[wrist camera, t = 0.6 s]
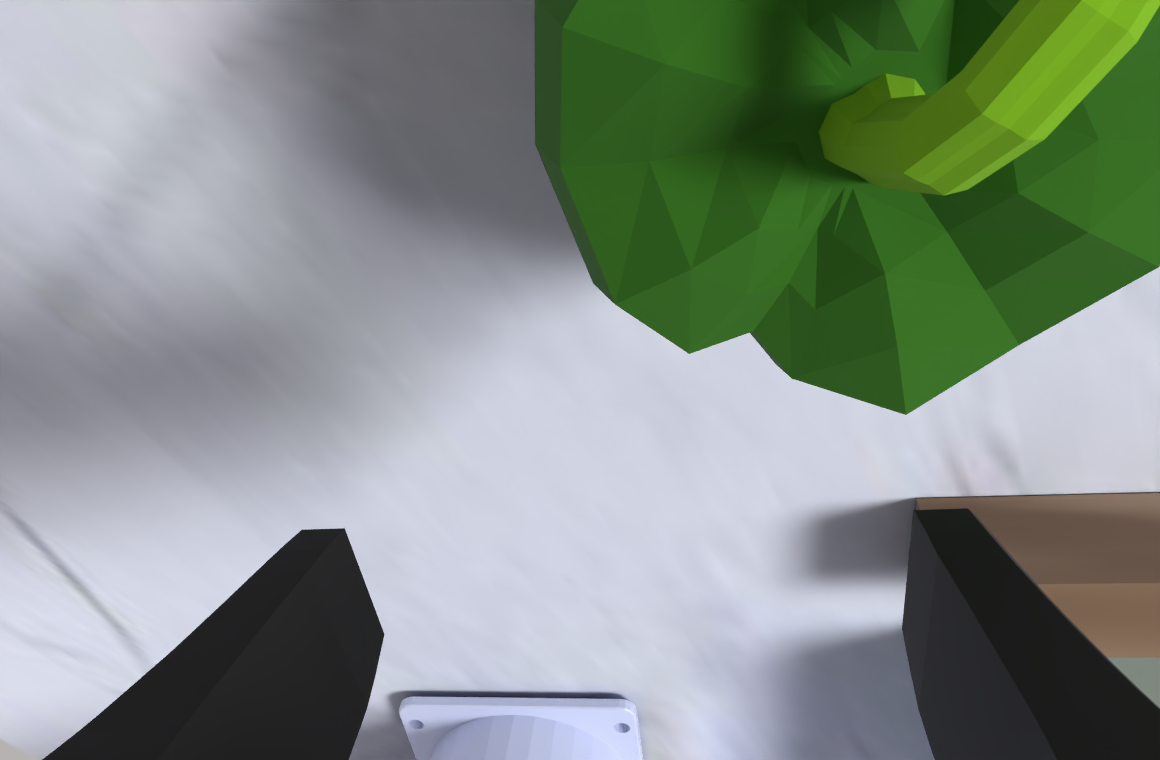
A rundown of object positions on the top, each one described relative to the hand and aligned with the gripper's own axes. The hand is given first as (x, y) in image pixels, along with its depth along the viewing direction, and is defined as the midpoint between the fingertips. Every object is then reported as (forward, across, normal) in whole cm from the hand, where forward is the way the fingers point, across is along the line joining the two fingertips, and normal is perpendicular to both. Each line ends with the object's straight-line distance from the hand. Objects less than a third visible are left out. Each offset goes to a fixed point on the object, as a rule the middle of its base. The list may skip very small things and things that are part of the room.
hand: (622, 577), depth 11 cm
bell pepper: (+10, -3, -5) cm, 11 cm away
